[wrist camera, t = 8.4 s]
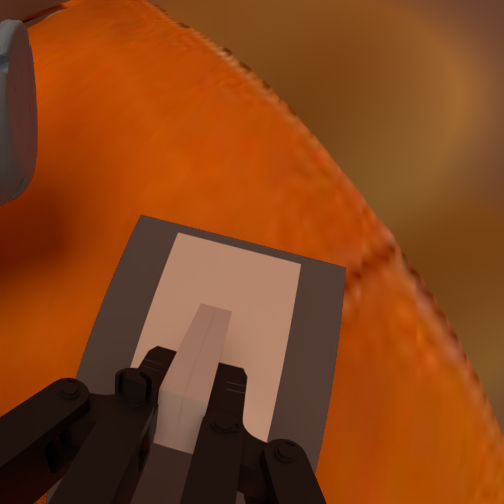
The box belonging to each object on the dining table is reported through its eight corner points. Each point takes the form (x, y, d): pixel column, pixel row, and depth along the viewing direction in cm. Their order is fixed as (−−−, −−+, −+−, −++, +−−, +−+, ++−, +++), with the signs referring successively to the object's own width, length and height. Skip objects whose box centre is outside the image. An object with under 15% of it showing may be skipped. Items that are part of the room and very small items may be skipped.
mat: (280, 579, 16) (283, 584, 15) (48, 516, 15) (43, 518, 15) (342, 272, 31) (346, 267, 30) (142, 220, 31) (140, 214, 30)
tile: (262, 459, 18) (300, 264, 26) (115, 419, 18) (178, 232, 26) (255, 454, 21) (290, 281, 28) (126, 419, 21) (180, 252, 28)
